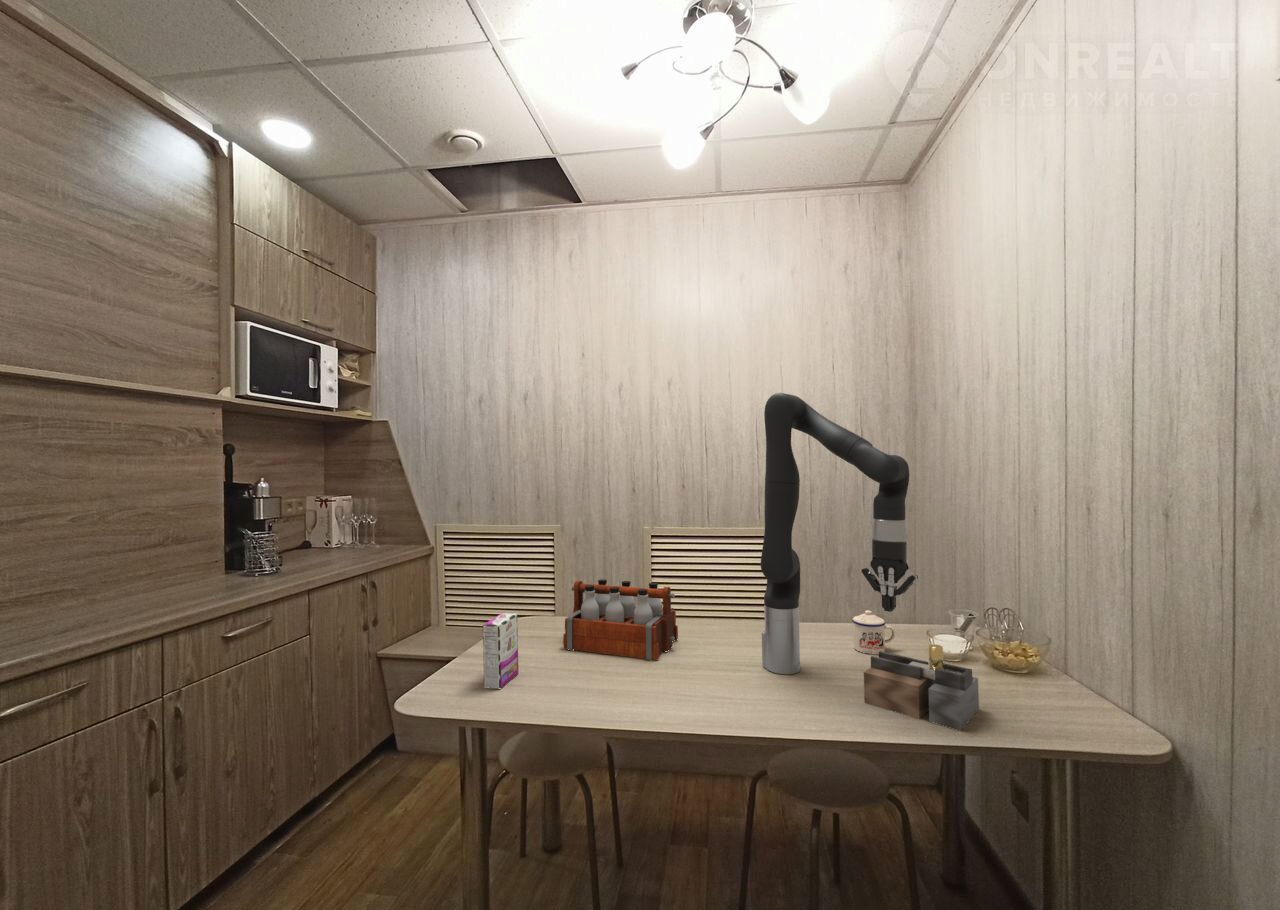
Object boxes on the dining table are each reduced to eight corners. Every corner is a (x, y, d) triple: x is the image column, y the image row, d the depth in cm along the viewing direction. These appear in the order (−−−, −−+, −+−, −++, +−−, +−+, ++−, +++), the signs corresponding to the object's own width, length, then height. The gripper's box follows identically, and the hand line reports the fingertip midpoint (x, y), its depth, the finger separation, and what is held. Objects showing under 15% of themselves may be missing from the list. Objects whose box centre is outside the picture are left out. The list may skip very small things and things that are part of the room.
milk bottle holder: (587, 630, 186) (586, 574, 187) (684, 641, 174) (683, 580, 174) (556, 650, 167) (555, 587, 167) (663, 663, 154) (662, 595, 155)
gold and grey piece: (908, 673, 125) (907, 642, 125) (913, 669, 127) (912, 639, 127) (962, 686, 117) (961, 653, 117) (966, 682, 119) (965, 650, 119)
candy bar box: (502, 672, 148) (501, 612, 149) (519, 673, 147) (518, 613, 148) (482, 689, 137) (481, 623, 138) (500, 690, 136) (499, 624, 137)
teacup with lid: (857, 654, 158) (856, 614, 159) (849, 644, 167) (848, 606, 168) (900, 655, 157) (899, 615, 157) (890, 645, 166) (889, 607, 166)
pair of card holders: (864, 702, 126) (863, 659, 126) (887, 685, 136) (886, 645, 136) (960, 731, 112) (959, 682, 112) (979, 709, 122) (977, 664, 122)
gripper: (855, 536, 131) (854, 608, 131) (912, 542, 122) (912, 619, 122) (868, 534, 137) (867, 602, 136) (924, 539, 127) (924, 613, 127)
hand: (889, 610), depth 129 cm, fingers closed
